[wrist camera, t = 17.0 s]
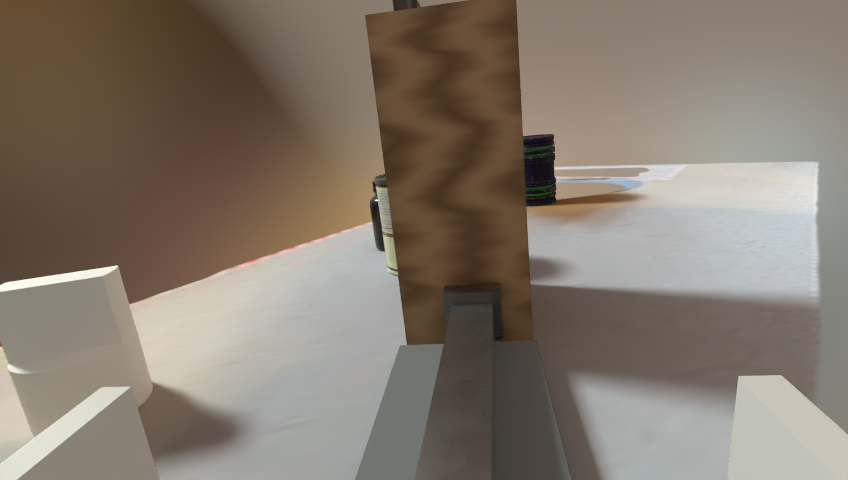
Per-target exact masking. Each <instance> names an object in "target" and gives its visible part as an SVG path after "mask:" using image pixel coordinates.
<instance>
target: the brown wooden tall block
mask: <svg viewBox="0 0 848 480" xmlns="http://www.w3.org/2000/svg"><path fill="white" fill-rule="evenodd" d="M393 5H394V11H391V12H384V13H377V14H370V15H366V25H367V33H368V41H369V49H370V57H371V64H372V72H373V80H374V88H375V96H376V104H377V112H378V119H379V127H380V136H381V144H382V151H383V159H384V167H385V175H386V183H387V191H388V199H389V207H390V215H391V222H392V230H393V238H394V246H395V254H396V262H397V270H398V278H399V286H400V293H401V301H402V309H403V317H404V325H405V333H406V341H407V345H425V344H444V340H445V335H446V322H445V312H444V303H443V291H444V287H445V286H451V285H472V284H494V283H500V290H501V305H502V320H503V338H504V339H495V342H498V341H523V340H533V333H532V313H531V293H530V272H529V252H528V232H527V211H526V191H525V171H524V150H523V133H522V110H521V90H520V69H519V50H518V30H517V10H516V0H468V1H462V2H454V3H447V4H441V5H433V6H427V7H420V5H419V3H418V1H417V0H393Z"/></svg>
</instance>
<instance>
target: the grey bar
mask: <svg viewBox="0 0 848 480" xmlns="http://www.w3.org/2000/svg"><path fill="white" fill-rule="evenodd" d="M443 303H444V312H445V322H446V335H445V340H444V345H443V349H442V354H441V358H440V363H439V368H438V372H437V377H436V382H435V386H434V391H433V396H432V400H431V405H430V410H429V414H428V419H427V424H426V428H425V433H424V438H423V442H422V447H421V451H420V456H419V461H418V465H417V470H416V475H415V479H414V480H496V451H495V339H504V338H503V320H502V305H501V290H500V283H494V284H472V285H451V286H445V287H444V291H443Z"/></svg>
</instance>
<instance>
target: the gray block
mask: <svg viewBox="0 0 848 480" xmlns="http://www.w3.org/2000/svg"><path fill="white" fill-rule="evenodd" d="M443 345H444V344H425V345H401V346H400V347H399V350H398V353H397V356H396V359H395V362H394V365H393V368H392V371H391V374H390V377H389V380H388V383H387V386H386V389H385V392H384V395H383V398H382V401H381V404H380V407H379V410H378V413H377V416H376V419H375V422H374V425H373V428H372V431H371V434H370V437H369V440H368V443H367V446H366V449H365V452H364V455H363V458H362V461H361V464H360V467H359V470H358V473H357V476H356V479H355V480H414V479H415V475H416V470H417V465H418V461H419V456H420V451H421V447H422V442H423V438H424V433H425V428H426V424H427V419H428V414H429V410H430V405H431V400H432V396H433V391H434V386H435V382H436V377H437V372H438V368H439V363H440V358H441V354H442V349H443ZM495 451H496V480H571V476H570V472H569V468H568V464H567V460H566V456H565V452H564V448H563V444H562V441H561V437H560V433H559V429H558V425H557V421H556V417H555V413H554V409H553V405H552V401H551V397H550V393H549V389H548V385H547V381H546V378H545V374H544V370H543V366H542V362H541V358H540V354H539V350H538V346H537V342H536V340H523V341H498V342H495Z"/></svg>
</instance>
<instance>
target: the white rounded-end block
mask: <svg viewBox="0 0 848 480" xmlns="http://www.w3.org/2000/svg"><path fill="white" fill-rule="evenodd" d="M0 342H1V344H2V347H3V350H4V352H5V355H6V358H7V360H8V363H9V364H8V367H7V368H8V371H9V373H10V376H11V379H12V381H13V384H14V387H15V389H16V392H17V395H18V397H19V400H20V403H21V405H22V408H23V411H24V413H25V416H26V418H27V421H28V424H29V426H30V429H31V432H32V433H33V435H34V437H36V436H37V435H39V434H40V433H41V432H43V431H44V430H45V429H47V428H48V427H49V426H51V425H52V424H53V423H55V422H56V421H57V420H59V419H60V418H61V417H63V416H64V415H65V414H67V413H68V412H69V411H71V410H72V409H73V408H75V407H76V406H77V405H79V404H80V403H81V402H83V401H84V400H85V399H87V398H88V397H89V396H90V395H92V394H93V393H94V392H96V391H97V390H98V389H100V388H101V387H131V388H132V391H133V395H134V398H135V401H136V405H137V408H138V407H139V406H141V405H142V404H143V403H144V402H145V401H146V400H147V399H148V397H149V396H150V395H151V393H152V390H153V385H152V381H151V378H150V375H149V371H148V368H147V364H146V361H145V357H144V354H143V350H142V347H141V344H140V340H139V337H138V333H137V330H136V326H135V324H134V320H133V317H132V313H131V310H130V306H129V303H128V299H127V296H126V293H125V289H124V286H123V282H122V279H121V276H120V272H119V268H118V266H113V267H106V268H99V269H93V270H86V271H80V272H73V273H66V274H60V275H53V276H47V277H40V278H33V279H27V280H20V281H13V282H7V283H4V284H2V285H0Z"/></svg>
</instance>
